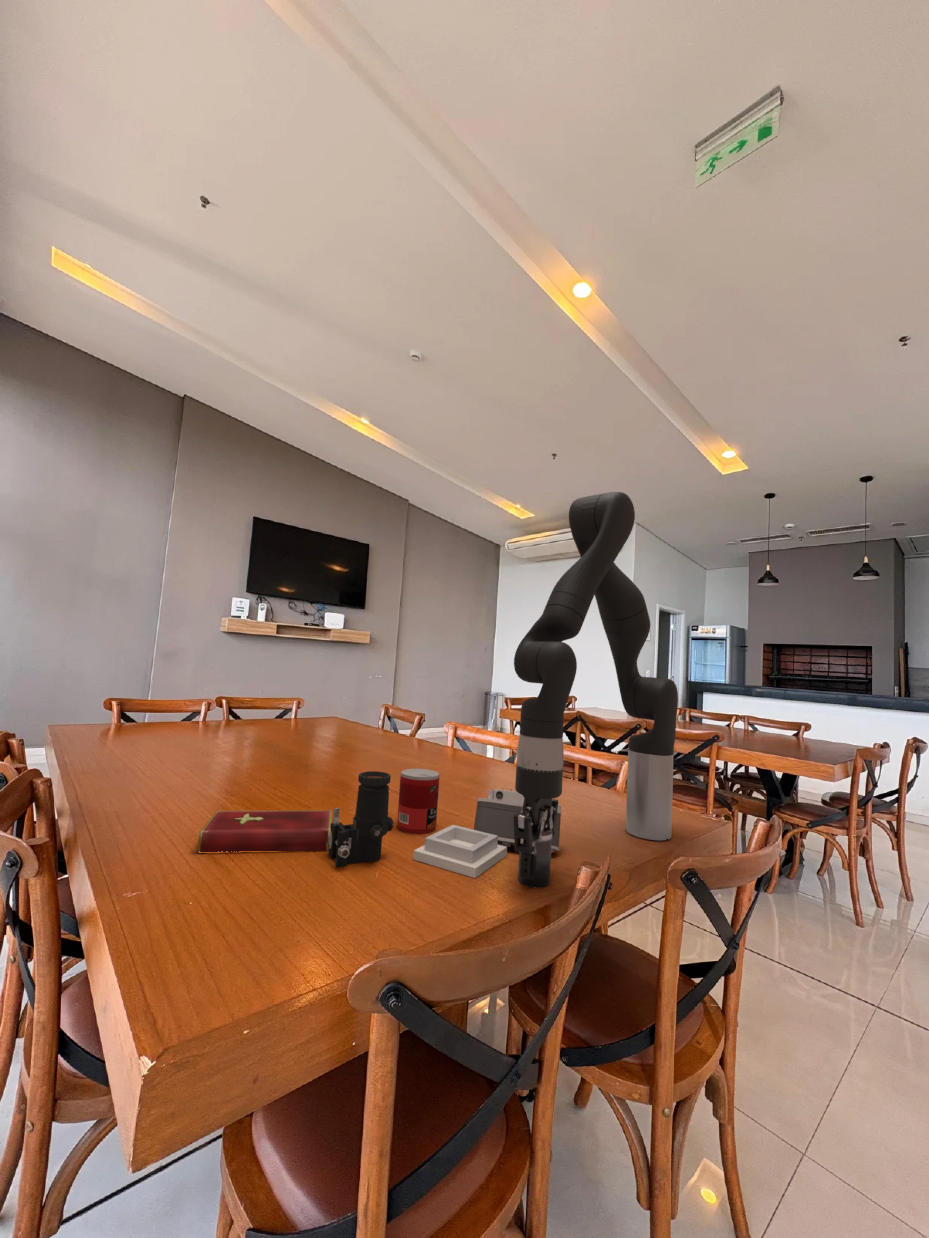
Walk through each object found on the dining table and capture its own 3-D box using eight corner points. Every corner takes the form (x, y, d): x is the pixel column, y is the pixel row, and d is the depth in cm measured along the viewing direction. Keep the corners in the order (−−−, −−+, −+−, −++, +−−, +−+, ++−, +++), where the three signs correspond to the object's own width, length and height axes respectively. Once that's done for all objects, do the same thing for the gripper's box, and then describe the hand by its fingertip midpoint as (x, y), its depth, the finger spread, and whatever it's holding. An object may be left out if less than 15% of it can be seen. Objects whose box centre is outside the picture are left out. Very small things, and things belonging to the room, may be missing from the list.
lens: (525, 871, 85) (527, 822, 85) (554, 879, 82) (556, 828, 83) (512, 882, 80) (515, 829, 81) (543, 891, 78) (545, 837, 78)
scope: (333, 770, 88) (388, 768, 93) (326, 853, 87) (382, 846, 92) (345, 782, 81) (404, 778, 86) (338, 872, 80) (398, 863, 85)
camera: (559, 852, 91) (563, 793, 96) (471, 838, 93) (479, 780, 98) (555, 857, 99) (558, 802, 104) (473, 844, 101) (481, 790, 106)
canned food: (434, 835, 99) (438, 778, 100) (394, 832, 99) (398, 775, 100) (437, 823, 107) (440, 769, 108) (399, 820, 107) (403, 767, 108)
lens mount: (449, 840, 97) (450, 821, 97) (506, 855, 91) (507, 835, 91) (413, 859, 87) (414, 838, 87) (475, 878, 81) (476, 855, 81)
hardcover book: (328, 854, 88) (330, 829, 88) (196, 857, 83) (199, 830, 84) (330, 830, 100) (332, 808, 100) (214, 832, 95) (216, 809, 95)
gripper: (546, 774, 75) (540, 895, 73) (575, 761, 87) (570, 863, 86) (499, 766, 78) (493, 881, 77) (534, 754, 91) (529, 853, 89)
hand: (534, 871), depth 81 cm, fingers closed on lens, 5 cm apart
